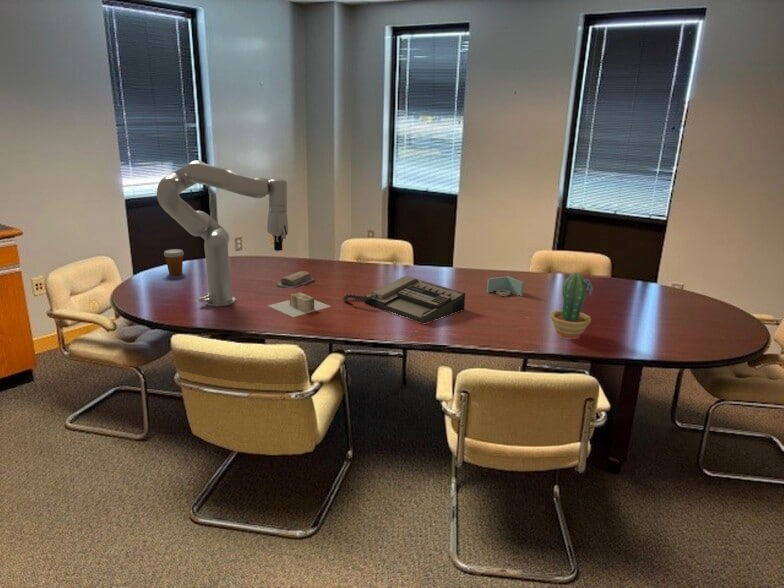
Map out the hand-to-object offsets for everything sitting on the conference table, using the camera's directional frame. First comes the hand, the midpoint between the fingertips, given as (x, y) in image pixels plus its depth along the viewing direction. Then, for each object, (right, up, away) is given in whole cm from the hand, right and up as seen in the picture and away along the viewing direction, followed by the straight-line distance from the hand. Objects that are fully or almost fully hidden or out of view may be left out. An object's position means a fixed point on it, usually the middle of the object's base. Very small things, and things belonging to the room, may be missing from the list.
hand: (278, 250), depth 245 cm
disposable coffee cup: (-62, -9, +43) cm, 76 cm away
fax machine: (+53, -25, +3) cm, 59 cm away
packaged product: (+2, -15, +32) cm, 35 cm away
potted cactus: (+119, -36, -26) cm, 127 cm away
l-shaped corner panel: (+104, -20, +22) cm, 108 cm away
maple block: (+7, -21, 0) cm, 22 cm away
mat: (+9, -25, -2) cm, 27 cm away
